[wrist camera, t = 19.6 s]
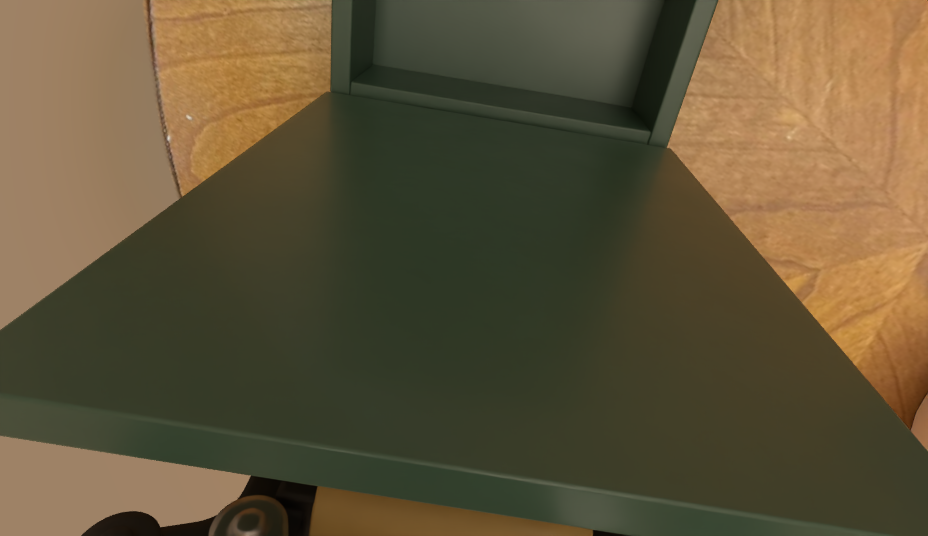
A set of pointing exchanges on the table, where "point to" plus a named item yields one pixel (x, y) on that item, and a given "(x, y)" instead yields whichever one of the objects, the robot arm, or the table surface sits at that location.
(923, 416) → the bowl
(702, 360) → the chest lid
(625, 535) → the robot arm
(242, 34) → the table surface
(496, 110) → the green chest
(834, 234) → the table surface
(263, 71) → the table surface
